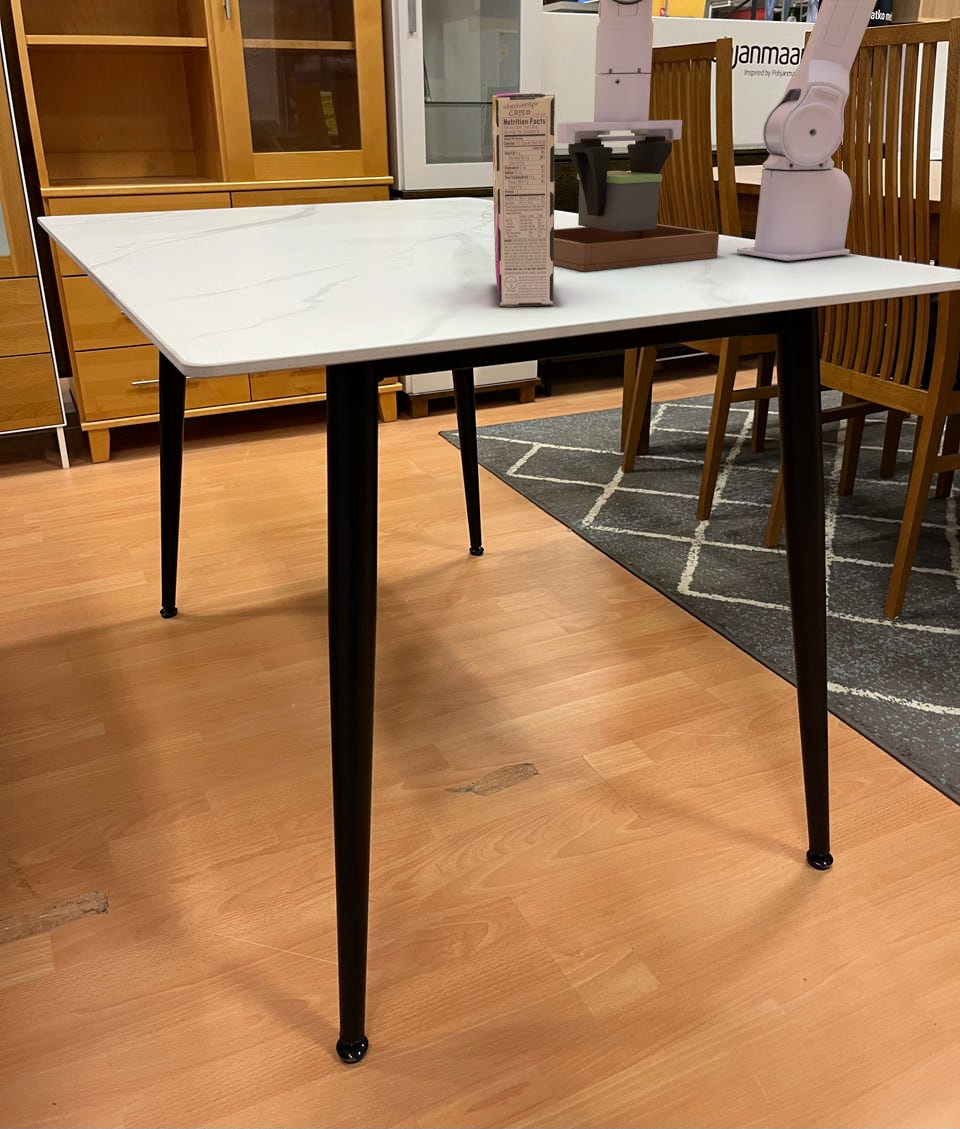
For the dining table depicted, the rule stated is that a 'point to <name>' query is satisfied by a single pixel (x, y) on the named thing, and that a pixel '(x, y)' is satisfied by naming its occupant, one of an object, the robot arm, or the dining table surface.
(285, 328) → the dining table surface
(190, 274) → the dining table surface
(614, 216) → the container
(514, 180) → the candy bar box
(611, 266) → the tray
